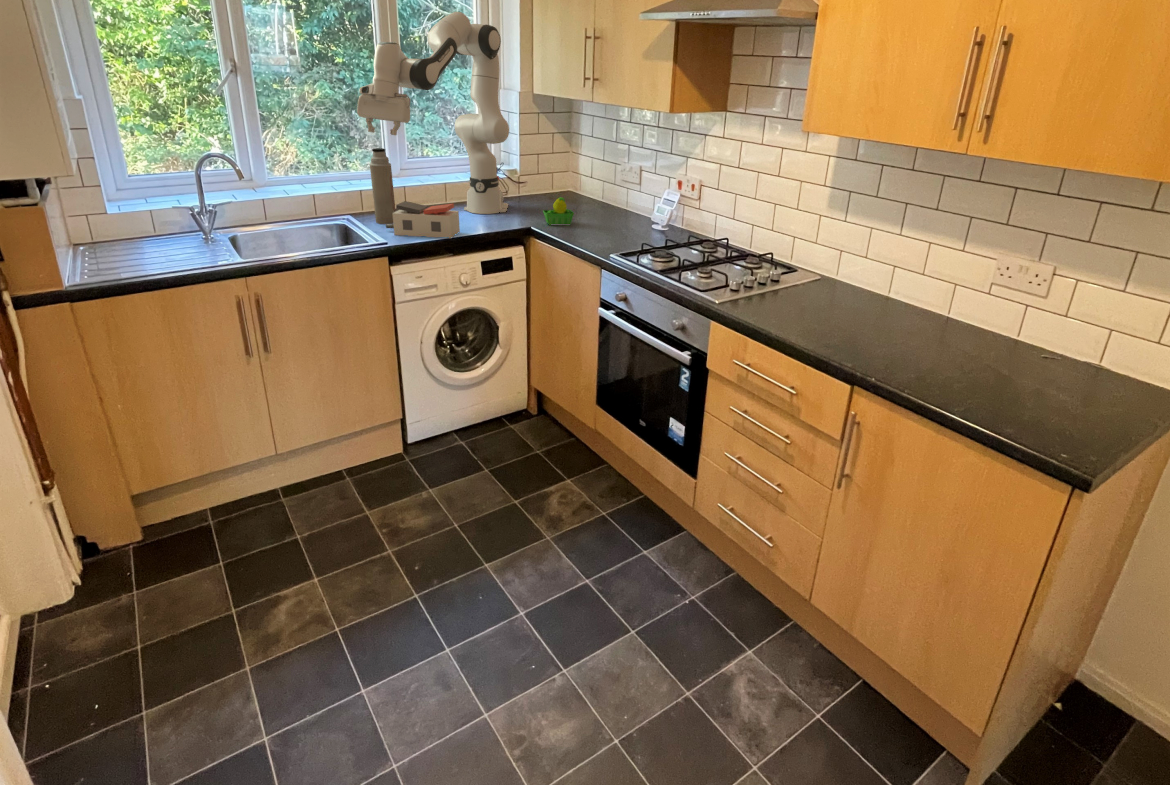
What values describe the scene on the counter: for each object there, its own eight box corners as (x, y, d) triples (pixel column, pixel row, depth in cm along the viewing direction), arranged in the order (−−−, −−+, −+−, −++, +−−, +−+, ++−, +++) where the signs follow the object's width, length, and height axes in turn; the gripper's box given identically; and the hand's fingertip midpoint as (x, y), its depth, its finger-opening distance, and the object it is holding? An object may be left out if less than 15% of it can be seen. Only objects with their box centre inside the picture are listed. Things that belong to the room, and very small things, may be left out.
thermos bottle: (398, 219, 288) (391, 147, 276) (393, 224, 281) (386, 150, 269) (379, 219, 288) (371, 147, 276) (373, 223, 281) (365, 149, 269)
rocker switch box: (392, 228, 275) (390, 207, 271) (459, 232, 271) (458, 210, 268) (381, 234, 266) (379, 212, 262) (450, 238, 262) (449, 216, 259)
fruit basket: (570, 221, 291) (570, 193, 286) (575, 226, 283) (575, 197, 278) (542, 222, 288) (542, 194, 284) (546, 227, 281) (546, 198, 276)
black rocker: (404, 206, 269) (404, 200, 268) (427, 211, 269) (427, 206, 268) (396, 210, 262) (396, 204, 261) (419, 215, 262) (419, 210, 261)
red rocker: (432, 211, 268) (431, 206, 268) (454, 208, 266) (453, 203, 266) (424, 215, 261) (423, 210, 260) (447, 213, 259) (446, 207, 259)
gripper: (415, 96, 247) (412, 138, 250) (367, 91, 253) (364, 132, 257) (404, 92, 241) (401, 135, 244) (355, 87, 247) (353, 129, 251)
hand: (382, 133), depth 250 cm, fingers open, 8 cm apart
